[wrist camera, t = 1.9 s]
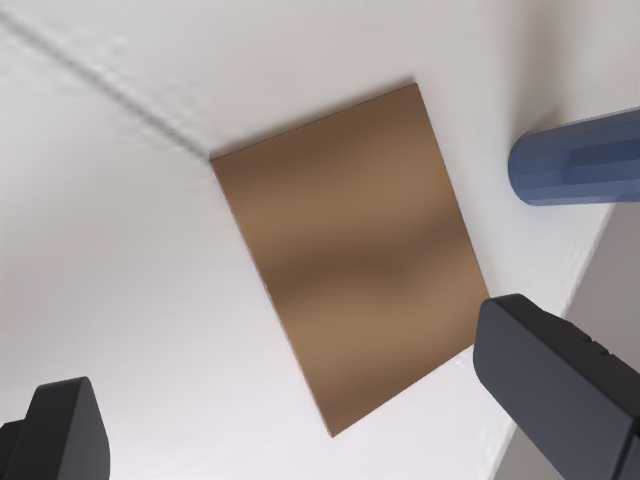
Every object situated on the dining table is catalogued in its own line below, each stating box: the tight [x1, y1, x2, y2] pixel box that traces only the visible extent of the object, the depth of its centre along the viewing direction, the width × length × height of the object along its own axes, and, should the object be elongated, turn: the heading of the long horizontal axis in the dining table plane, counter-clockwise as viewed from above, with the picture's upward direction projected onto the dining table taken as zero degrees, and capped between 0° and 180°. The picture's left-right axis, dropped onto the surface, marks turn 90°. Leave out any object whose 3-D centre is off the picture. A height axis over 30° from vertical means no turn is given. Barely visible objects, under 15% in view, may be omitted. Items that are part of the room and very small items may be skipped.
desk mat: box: [210, 83, 490, 438], centre depth 33 cm, size 20×16×1 cm
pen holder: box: [508, 106, 640, 206], centre depth 34 cm, size 6×6×11 cm
